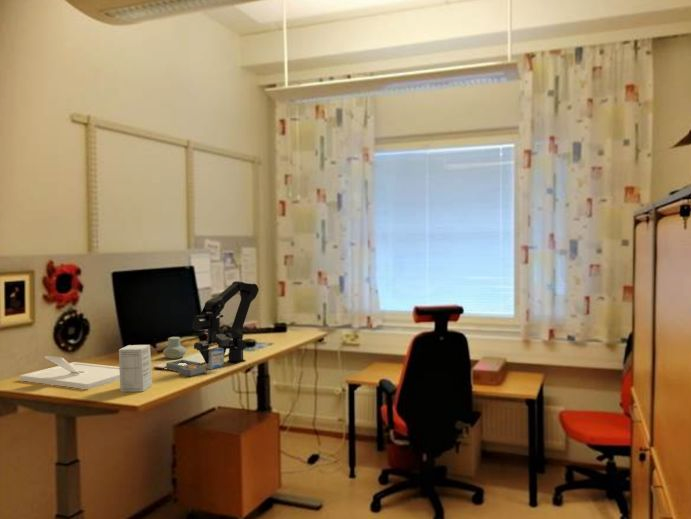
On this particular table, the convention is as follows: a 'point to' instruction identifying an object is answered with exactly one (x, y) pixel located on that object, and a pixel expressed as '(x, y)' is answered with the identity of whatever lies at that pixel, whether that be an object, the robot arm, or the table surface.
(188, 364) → the grey square tray
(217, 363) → the medicine box
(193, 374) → the button housing
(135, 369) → the supplement box
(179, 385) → the table surface
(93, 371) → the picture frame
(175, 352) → the air freshener
